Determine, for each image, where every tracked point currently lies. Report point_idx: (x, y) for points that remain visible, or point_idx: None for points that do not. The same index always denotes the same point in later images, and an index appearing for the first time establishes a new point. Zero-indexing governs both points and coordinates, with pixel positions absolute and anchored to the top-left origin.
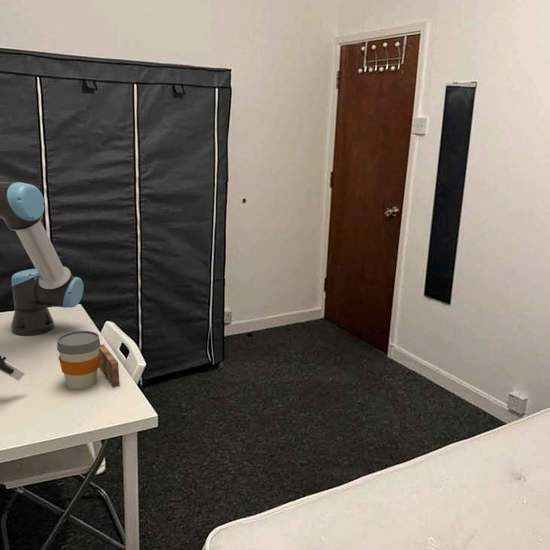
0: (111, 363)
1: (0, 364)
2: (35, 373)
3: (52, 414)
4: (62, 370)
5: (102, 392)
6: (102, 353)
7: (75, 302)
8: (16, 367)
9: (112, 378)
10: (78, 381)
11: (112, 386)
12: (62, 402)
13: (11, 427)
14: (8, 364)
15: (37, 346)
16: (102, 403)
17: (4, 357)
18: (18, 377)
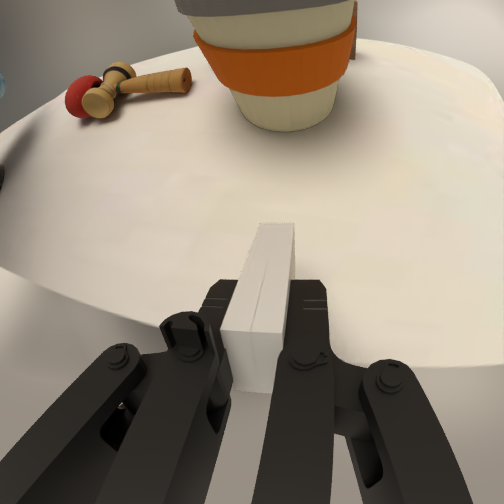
0: (355, 1)
1: (422, 409)
2: (130, 209)
3: (471, 212)
4: (292, 89)
5: (375, 78)
6: None
7: (2, 79)
8: (256, 253)
9: (354, 38)
10: (336, 88)
11: (349, 58)
12: (407, 166)
13: (497, 343)
14: (285, 311)
15: (23, 195)
16: (435, 97)
17: (191, 331)
18: (294, 268)
